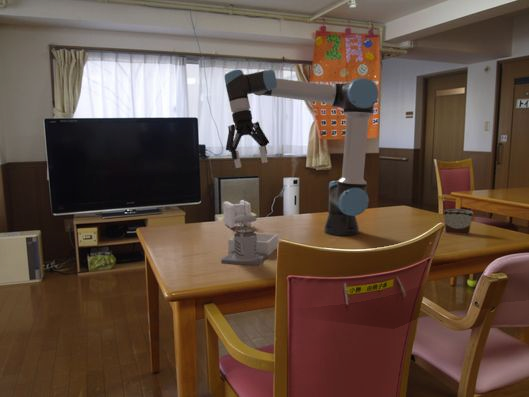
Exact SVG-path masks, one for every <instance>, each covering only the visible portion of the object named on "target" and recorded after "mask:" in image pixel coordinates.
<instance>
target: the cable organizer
mask: <svg viewBox="0 0 529 397" xmlns="http://www.w3.org/2000/svg"><path fill="white" fill-rule="evenodd" d="M222 203H223V222H224V225H226V226H228V227H229V228H230V229H233V228H236V225H237V226H238V224H239V223H240V224H241V222H238V223H237V221H235V220H234V218H235V217H236V216H238V215H242V214H250V215H252V213H251V212H252V208H251V207H252V206H251V203H250V202H248V201H247V200H245V201H244V199H241V200H239V203H236V204H235V203H234V204H233V203H232V202H229V201H224V202H222ZM242 224H243V222H242ZM243 225H245V222H244V224H243ZM250 226H252V222H246V228H250Z"/></svg>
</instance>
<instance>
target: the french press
mask: <svg viewBox="0 0 529 397" xmlns="http://www.w3.org/2000/svg"><path fill="white" fill-rule="evenodd" d="M241 190H243V191H244V194H243V196H244V199H243V200H244V201H246V191H247V190H248V187H247V186H246V185H244V186H242V187H241ZM234 220H235V221H237V225H236V224H235V230H234V232H235V233H234V234H233V237H234V242H235V243H234V246H235V247H234V249H235V250H234V255H233V257H232V259H233V260H236V261H254V260H257V259H259V258H260V257H259V255H258V254H257V241H256V240H257V234H256V233H257V232H256V231H257V230H256V229H255V228H252V227H247V226H246V222H251V223H252V222H256V221H257V220H258V218H257V217H255V216H254V215H252V214H251V215H250V214H242V215H238V216H236V217H235V218H234ZM238 222H241V223H238ZM242 222H243V224H242ZM244 222H245V224H244ZM238 225H239V226H242V225H244V227H240V228H238ZM240 233H241V234H240ZM242 234H243V237H242ZM250 236H252V237H250ZM241 243H243V245H241ZM254 243H255V244H254ZM254 246H255V247H254ZM241 247H243V249H241ZM241 251H243V252H241Z"/></svg>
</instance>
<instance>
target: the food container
mask: <svg viewBox="0 0 529 397" xmlns="http://www.w3.org/2000/svg"><path fill="white" fill-rule="evenodd" d="M474 214H475V213H474V212H473V211H472V210H469V209H464V208H463V209H462V208H448V209H447V208H446V209H444V210H443V212H442V215H443V216H444V217H443V218H444V232H445V234H456V235H457V234H458V235H466V236H467V235H469V234H470V231H471V225H472V220H473V218H474V217H475V215H474Z"/></svg>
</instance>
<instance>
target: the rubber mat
mask: <svg viewBox="0 0 529 397" xmlns="http://www.w3.org/2000/svg"><path fill="white" fill-rule="evenodd" d="M257 254H258V255H259V257H260V258H259V259H257V260H254V261H236V260H233V259H232V257H233V255H234V251H233V252H231V253H228V254H227V255H226V256H225V257H223V258H221V259H220V260H221V261H220V262H221V264H223V263H224V264H233V265H234V264H235V265H245V266H246V265H247V266H256V267H257V266H259V265H260V264H261V263H262V262H263V261H265V259H266V258H267V257H268V256H267V254H261V253H257Z"/></svg>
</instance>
